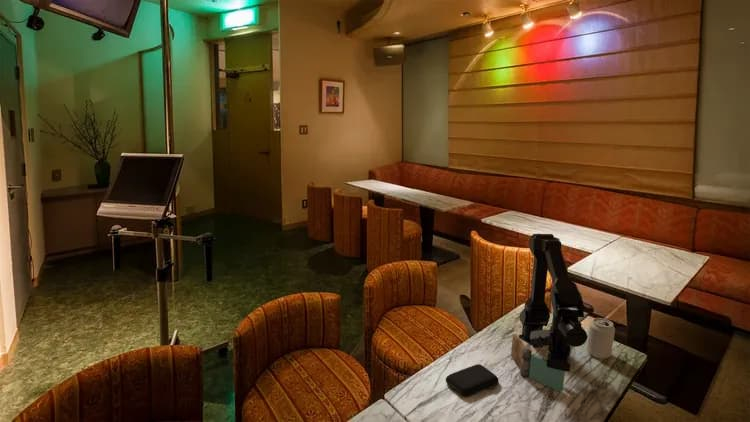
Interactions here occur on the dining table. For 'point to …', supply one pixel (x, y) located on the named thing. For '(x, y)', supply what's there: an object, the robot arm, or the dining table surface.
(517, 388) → the dining table surface
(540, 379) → the hinge leaf
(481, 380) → the carrying case or bag
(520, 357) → the fixed leaf
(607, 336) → the can
